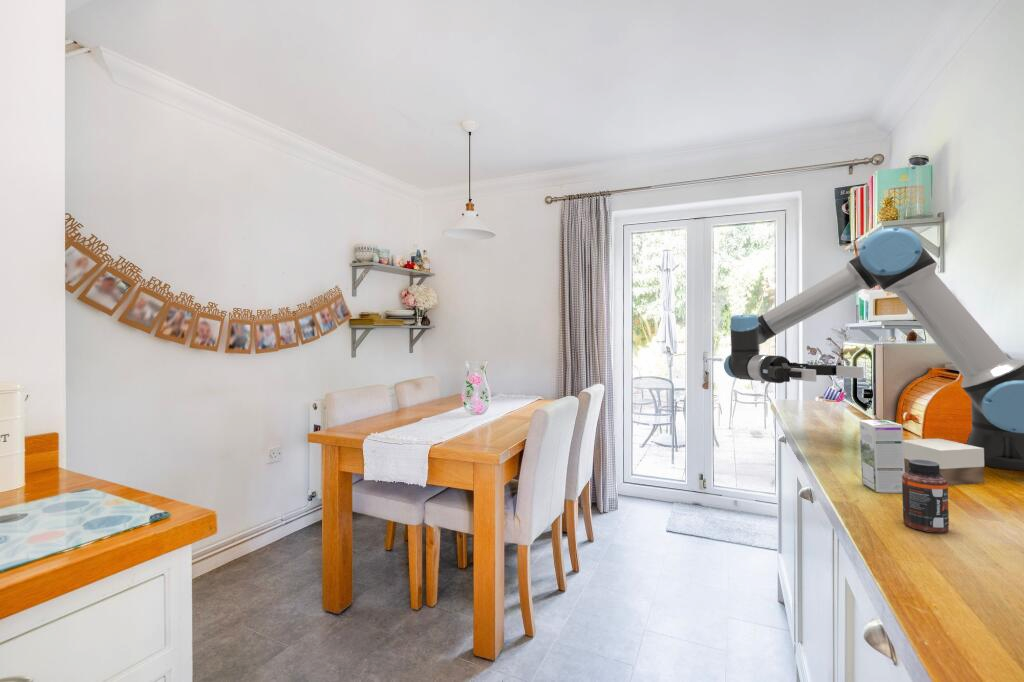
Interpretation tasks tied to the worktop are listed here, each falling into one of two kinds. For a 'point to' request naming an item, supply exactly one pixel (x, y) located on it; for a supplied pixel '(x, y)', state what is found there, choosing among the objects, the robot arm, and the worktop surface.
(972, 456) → the tower top block
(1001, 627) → the worktop surface
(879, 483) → the syrup box
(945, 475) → the tower base block
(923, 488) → the supplement bottle
